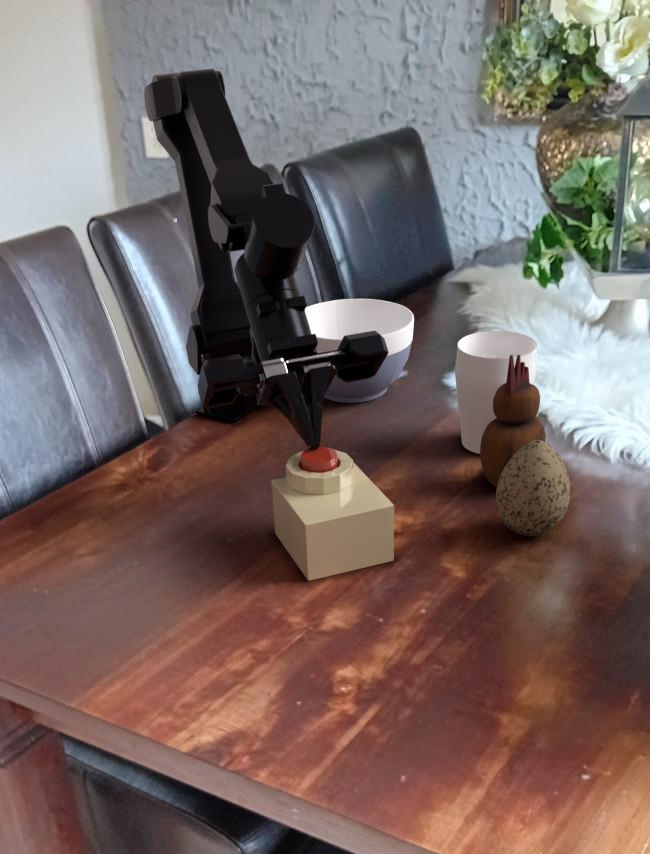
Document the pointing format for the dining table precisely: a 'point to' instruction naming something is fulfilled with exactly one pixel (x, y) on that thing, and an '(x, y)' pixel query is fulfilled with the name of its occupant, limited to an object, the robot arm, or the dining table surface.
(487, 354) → the cup
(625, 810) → the dining table surface
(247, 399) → the robot arm
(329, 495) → the button base
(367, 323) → the bowl
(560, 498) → the decorative egg
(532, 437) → the wooden figurine
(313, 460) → the red push button
